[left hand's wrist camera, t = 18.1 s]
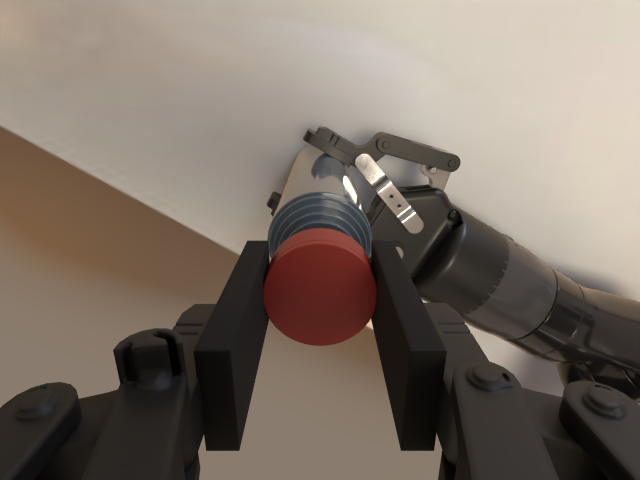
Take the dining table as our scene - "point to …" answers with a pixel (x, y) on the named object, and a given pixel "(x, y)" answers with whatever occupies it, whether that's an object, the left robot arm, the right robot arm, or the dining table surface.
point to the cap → (320, 287)
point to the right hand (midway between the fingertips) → (288, 167)
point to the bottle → (319, 201)
